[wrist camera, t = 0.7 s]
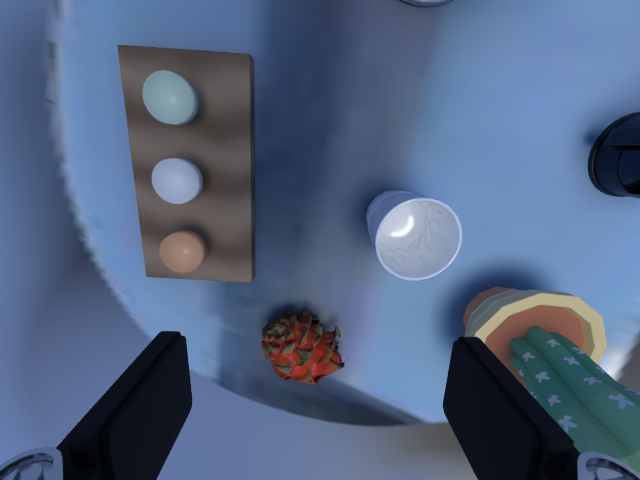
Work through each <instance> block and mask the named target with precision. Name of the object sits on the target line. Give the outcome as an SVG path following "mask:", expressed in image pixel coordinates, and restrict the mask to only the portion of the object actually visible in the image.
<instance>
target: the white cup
mask: <svg viewBox="0 0 640 480" xmlns="http://www.w3.org/2000/svg"><path fill="white" fill-rule="evenodd" d="M366 222H367V227H368V232H369V235H370V238H371V241H372V244H373V246H374V248H375V251H376V253H377V256H378V258H379V260H380V262H381V264H382V265H383V266H384V268H385V269H386V270H387V271H389V272H390V273H391V274H393V275H395V276H397V277H399V278H402V279H406V280H423V279H427V278H430V277H433V276H435V275H437V274H439V273H441V272H442V271H443V270H445V269H446V268H447V267H448V266H449V265H450V264H451V263H452V262H453V260H454V259H455V257H456V256H457V254H458V252H459V249H460V246H461V242H462V228H461V224H460V221H459V219H458V217H457V215H456V214H455V212H454V211H453V210H452V209H451V208H450V207H449V206H447V205H446V204H444V203H443V202H441V201H438V200H435V199H432V198H429V197H426V196H423V195H419V194H416V193H412V192H407V191H403V190H388V191H386V192H384V193H382V194H380V195H378V196H376V197H375V199H374V200H373V201H372V202H371V204H370V205H369V206H368V210H367V214H366Z"/></svg>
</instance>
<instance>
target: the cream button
mask: <svg viewBox="0 0 640 480" xmlns="http://www.w3.org/2000/svg"><path fill="white" fill-rule="evenodd" d="M152 185H153V187H154V190H155V191H156V193H157V194H158V195H159V196H160V197H161V198H162V199H163V200H165V201H167V202H169V203H172V204H183V203H186V202H188V201H191V200H193V199H195V198H196V197H197V196H198V195H199V194H200V193H201V191H202V188H203V177H202V174H201V172H200V170H199V169H198V167H197V166H196V165H195V164H194V163H192V162H191V161H189V160H187V159H183V158H170V159H165V160H162V161H160V162H159V163H158V164H157V165H156V166H155V167H154V169H153V172H152Z"/></svg>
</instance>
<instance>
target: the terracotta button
mask: <svg viewBox="0 0 640 480" xmlns="http://www.w3.org/2000/svg"><path fill="white" fill-rule="evenodd" d="M159 253H160V257H161V260H162V261H163V263H164V264H165V265H166V266H167V267H168V268H169V269H171V270H173V271H175V272H179V273H188V272H191V271H193V270H195V269H196V268H197V267H198V266H199V265H200V264H201V263H202V262H203V261H204V260H205V258H206V255H207V247H206V244H205V242H204V240H203V239H202V237H201V236H199V235H198V234H197V233H195V232H193V231H190V230H179V231H176V232H174V233H172V234H171V235H169V236H167V237H166V238H165V239H164V240H163V241H162V242H161V244H160V248H159Z"/></svg>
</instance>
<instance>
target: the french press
mask: <svg viewBox="0 0 640 480" xmlns="http://www.w3.org/2000/svg"><path fill="white" fill-rule="evenodd" d="M622 151H640V112H638V113H632V114H630V115H627V116H624V117H622V118H620V119H619V120H617V121H615V122H614V123H612V124H611V125H610V126H609V127H607V128H606V129H605V131H604V132H603V133H602V134H601V135H600V136H599V138H598V139H597V141H596V142H595V144H594V146H593V148H592V150H591V154H590V157H589V164H588V169H589V176H590V178H591V181H592V183H593V184H594V186H595V187H596V188H597V189H598V190H600V191H601V192H603V193H605V194H607V195H611V196H618V197H624V196H629V197H635V198H640V182H638V183H635V184H632V185H627V186H624V185H623V184H622V182H621V179H620V176H619V161H620V157H621V154H622Z"/></svg>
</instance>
